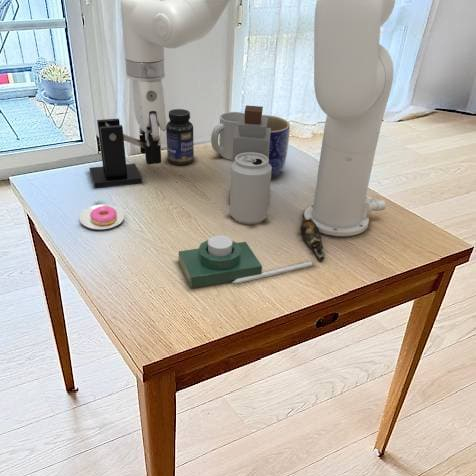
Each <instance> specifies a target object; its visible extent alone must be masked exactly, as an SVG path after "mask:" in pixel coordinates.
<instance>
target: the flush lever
mask: <svg viewBox="0 0 476 476" xmlns="http://www.w3.org/2000/svg"><path fill="white" fill-rule="evenodd" d="M104 126H113V125H111V124H108V123H106V122H105V125H104ZM123 136H124V142H127V143H130V144H131V145H135V146H138V147H139V148H140V147H142V148H145V145H146V142H143V141H141V140H140V139H138V138H136V137H133V136H130V135H128V134H125V133H123Z"/></svg>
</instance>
